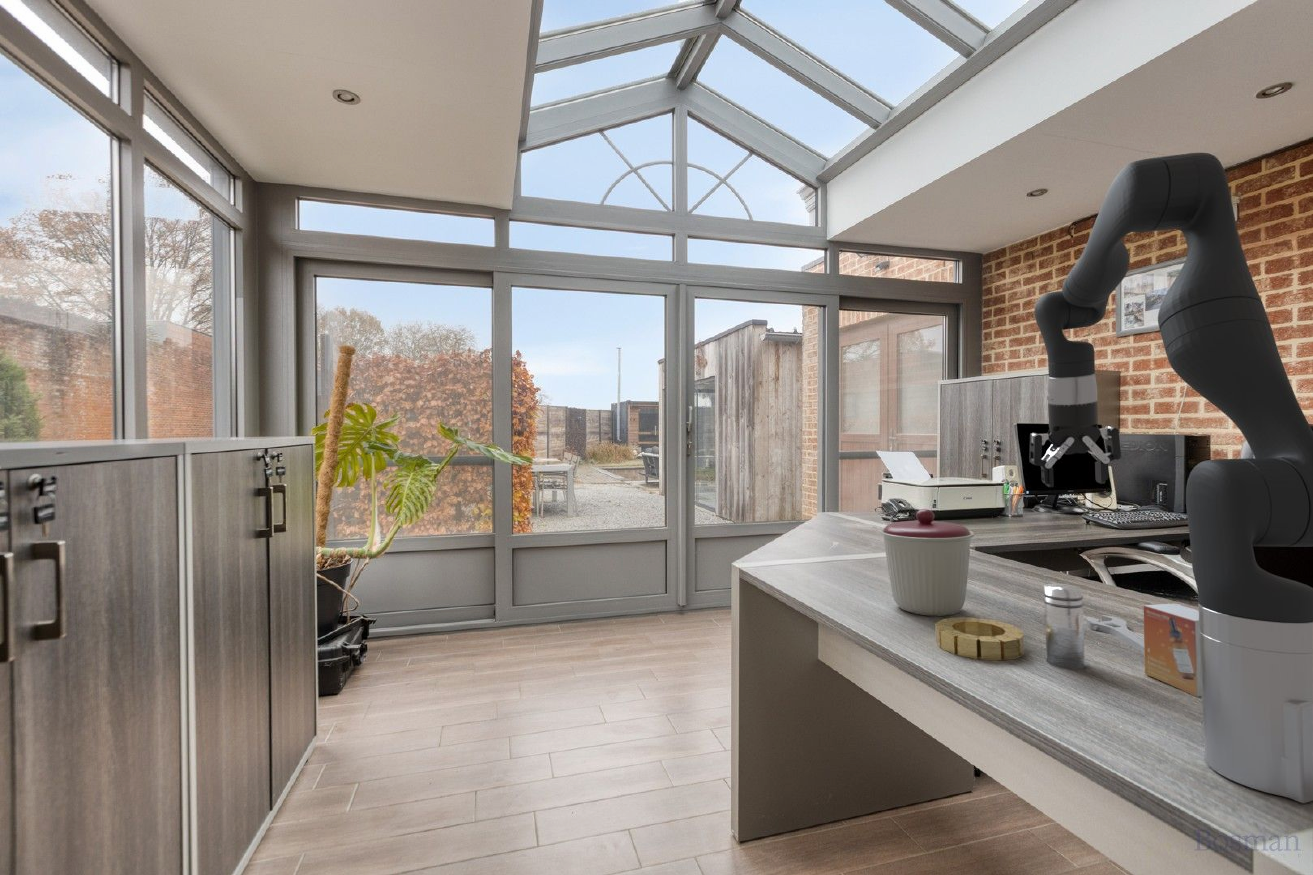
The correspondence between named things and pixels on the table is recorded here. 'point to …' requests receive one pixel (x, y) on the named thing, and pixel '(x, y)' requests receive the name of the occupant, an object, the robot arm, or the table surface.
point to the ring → (980, 638)
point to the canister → (928, 564)
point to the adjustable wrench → (1116, 630)
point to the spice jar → (1064, 626)
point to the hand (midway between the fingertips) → (1074, 484)
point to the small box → (1173, 646)
